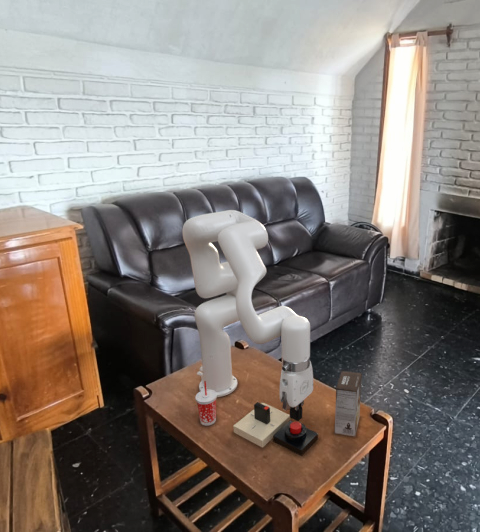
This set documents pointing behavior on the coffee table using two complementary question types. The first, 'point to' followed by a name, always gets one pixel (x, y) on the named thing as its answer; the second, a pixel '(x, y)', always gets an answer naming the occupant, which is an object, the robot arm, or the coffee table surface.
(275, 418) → the panel
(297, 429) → the power button
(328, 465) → the coffee table surface
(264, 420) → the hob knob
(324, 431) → the coffee table surface
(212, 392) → the beverage cup
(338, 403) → the coffee box
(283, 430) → the power box
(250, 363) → the coffee table surface
